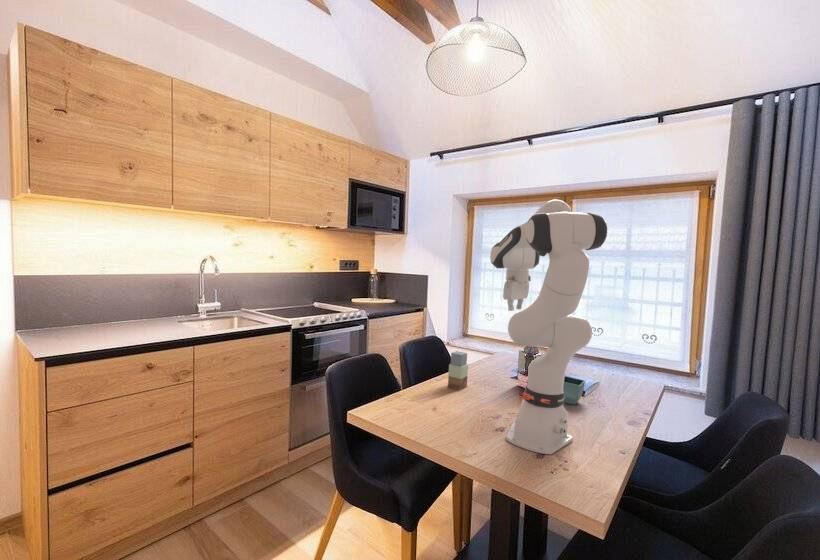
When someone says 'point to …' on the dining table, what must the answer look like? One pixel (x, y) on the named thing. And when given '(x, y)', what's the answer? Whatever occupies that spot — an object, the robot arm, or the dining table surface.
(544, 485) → the dining table surface
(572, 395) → the flower pot
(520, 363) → the candy bar box
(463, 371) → the sage block
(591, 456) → the dining table surface
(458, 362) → the slate cube
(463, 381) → the walnut block
